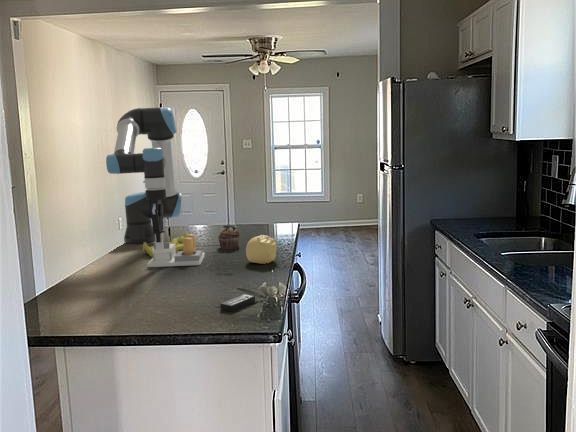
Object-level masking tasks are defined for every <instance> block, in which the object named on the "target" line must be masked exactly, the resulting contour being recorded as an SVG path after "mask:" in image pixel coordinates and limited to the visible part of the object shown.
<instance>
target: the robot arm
mask: <svg viewBox="0 0 576 432" xmlns="http://www.w3.org/2000/svg"><path fill="white" fill-rule="evenodd" d="M116 132H117V136H116V141H115V142H116V143H115V146H114V152H113V153H112V154H111V153H110V154H107V155H106V156H105V157H106V159H105V163H106V171H107V172H108V173H109V174H112V175H113V174H115V175H121V174H137V173H142V174H143V175H144V180H142V181H143V182H142V183H143V184H144V188H145V189H146V190H145V191H142V192H137V193H131V194H128V195H127V196H125V198H124V207H125V208H124V209H125V218H126V219H125V220H126V221H125V222H126V229H125V232H124V236H123V241H124V243H125V244H136V245H137V244H143V243H144V242H146V243H147V244H148V243H152V242H154V241H155V242H154V243H155V244H156V251H163V250H164V246H163V242H164V236H163V235H164V234H163V233H165V232H166V231H165V230H164V219H169V218H170V219H172V218H178V217H179V216H180V215H181V211H182V193H181V192H179V189H178V188H176V187H175V178H174V177H175V175H174V163H173V153H172V151H173V150H172V141H171V140H173V139H174V137H175V136H174V135H175V134H176V133H177V125H176V120H175V115H174V111H173V110H172V109H171V107H162V106H161V107H142V108H141V107H137V108H134V109H131V110H128V111H127V112H125V113H124V114H123V115H122V116H121V117H120V118H119V120H118V121H117V125H116ZM138 135H139V136H140V135H147V139H148V140H149V141H150V142H151V147H148V148H146V147H144V148H143V149H142V153H141V152H140V153H139V152H138V153H135V148H136V141H137V137H138Z"/></svg>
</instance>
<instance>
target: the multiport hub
mask: <svg viewBox="0 0 576 432" xmlns="http://www.w3.org/2000/svg"><path fill="white" fill-rule="evenodd" d="M254 303H256V296H255V295H254V294H253V295H251V294H246V293H243V294H241V295H238V296H236V297H234V298H231V299H228V300H226V301H223V302H221V303H220V304H219V305H220V312H221V311H222V312H228V313H234V312H237V311H239V310H241V309H243V308H245V307H248V306H250V305H252V304H254Z"/></svg>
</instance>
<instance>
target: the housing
mask: <svg viewBox="0 0 576 432" xmlns="http://www.w3.org/2000/svg"><path fill="white" fill-rule="evenodd" d="M186 238H192V240H193V255H184V250H183V251H178V252H177V253H176V249H174V250H173V251H172V252H171V253H153V257H151V259H150V260H149V261H148V262H147V268H159V267H161V268H162V267H164V268H165V267H182V266H183V267H185V266H201V263H202V261H203V260H204V258H205V256H206V255H205V254H206V253H205V252H203V250H196V248H197V247H196V234H194V233H190V234H189V233H188V235H186Z"/></svg>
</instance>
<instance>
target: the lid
mask: <svg viewBox="0 0 576 432" xmlns="http://www.w3.org/2000/svg"><path fill="white" fill-rule="evenodd" d="M169 242H170V241H163V246H164V250H163V251H156V244H155V242H153V246H154V248H153V249H152V253H171V252H172V251H173V250H174V249H175V248H176V244H170V243H169Z"/></svg>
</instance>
